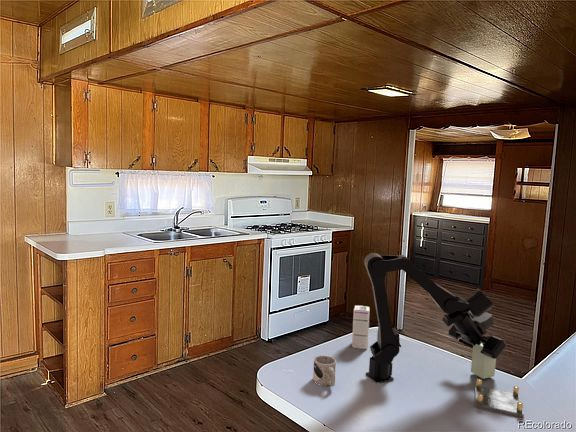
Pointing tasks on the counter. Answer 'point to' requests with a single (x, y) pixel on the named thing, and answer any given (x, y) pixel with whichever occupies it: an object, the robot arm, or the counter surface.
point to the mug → (324, 370)
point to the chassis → (498, 400)
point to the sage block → (482, 363)
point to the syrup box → (360, 327)
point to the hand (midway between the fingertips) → (487, 353)
